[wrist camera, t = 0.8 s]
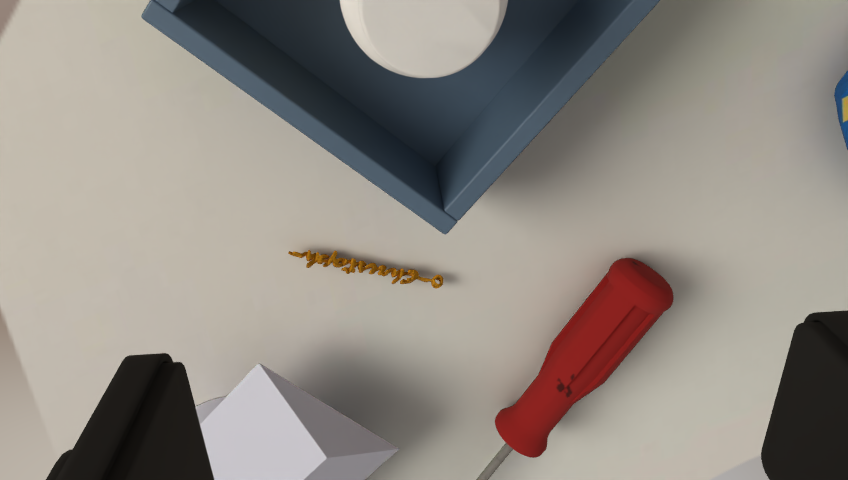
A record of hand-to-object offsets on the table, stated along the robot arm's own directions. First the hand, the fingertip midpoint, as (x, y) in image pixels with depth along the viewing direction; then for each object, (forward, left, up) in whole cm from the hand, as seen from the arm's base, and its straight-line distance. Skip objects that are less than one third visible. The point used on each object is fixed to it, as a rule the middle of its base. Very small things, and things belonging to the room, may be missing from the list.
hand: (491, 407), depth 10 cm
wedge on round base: (+22, -7, -22) cm, 31 cm away
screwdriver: (+20, +7, -22) cm, 30 cm away
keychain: (+10, -2, -22) cm, 24 cm away
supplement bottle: (-4, -1, -21) cm, 22 cm away
